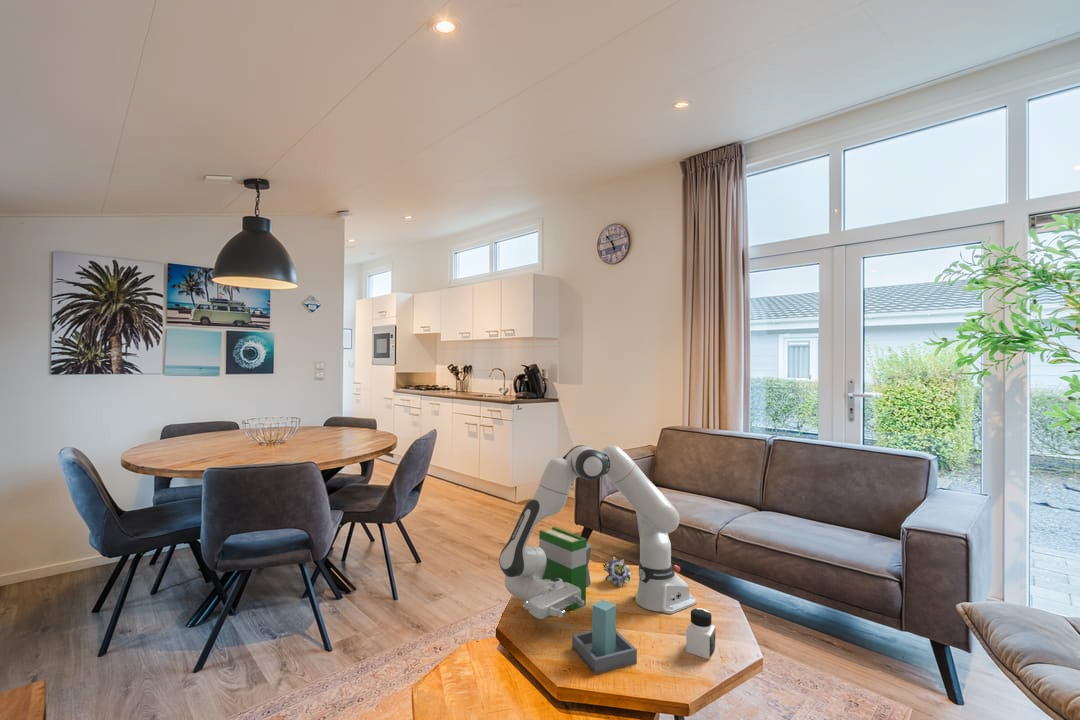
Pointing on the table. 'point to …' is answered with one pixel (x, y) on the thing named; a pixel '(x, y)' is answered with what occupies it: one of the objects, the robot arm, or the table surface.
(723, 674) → the table surface
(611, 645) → the tall teal prism
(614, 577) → the passion flower
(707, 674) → the table surface
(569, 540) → the hardback book
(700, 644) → the medicine bottle
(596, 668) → the box
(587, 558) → the coffeepot
